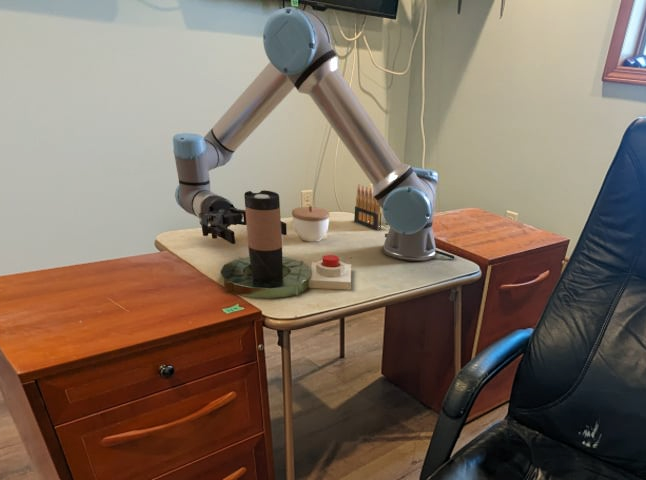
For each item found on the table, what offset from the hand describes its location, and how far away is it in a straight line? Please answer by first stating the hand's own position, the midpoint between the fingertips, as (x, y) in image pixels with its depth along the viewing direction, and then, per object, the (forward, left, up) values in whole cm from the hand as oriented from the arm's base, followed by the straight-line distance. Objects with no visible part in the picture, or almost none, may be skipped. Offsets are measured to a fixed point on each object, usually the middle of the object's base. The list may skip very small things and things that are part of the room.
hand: (260, 233), depth 119 cm
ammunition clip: (-26, -50, -11) cm, 57 cm away
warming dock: (-1, +1, -11) cm, 11 cm away
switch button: (-16, -2, -7) cm, 18 cm away
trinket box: (-9, -33, -11) cm, 36 cm away
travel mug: (-1, +1, -11) cm, 11 cm away
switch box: (-16, -2, -11) cm, 20 cm away
